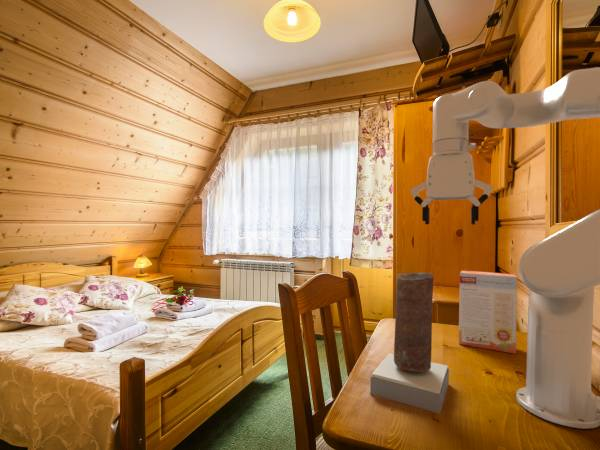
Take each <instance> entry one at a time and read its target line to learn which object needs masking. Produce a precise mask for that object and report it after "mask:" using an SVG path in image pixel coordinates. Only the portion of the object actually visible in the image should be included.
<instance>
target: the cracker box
mask: <svg viewBox="0 0 600 450" xmlns="http://www.w3.org/2000/svg"><path fill="white" fill-rule="evenodd" d="M517 284H518V277H517V275H516V274H514V273H501V272H489V271H476V270H475V271H473V270H461V271H460V272H459V292H458V293H459V299H458V300H459V304H458V306H459V307H458V308H459V309H458V344H459V345H463V346H469V347H474V348H480V349H487V350H491V351H498V352H502V353H508V354H513V355H514V354H516V353H517V312H518V311H517V302H518V301H517V300H518V298H517V297H518V295H517V294H518V289H517V288H518V285H517Z"/></svg>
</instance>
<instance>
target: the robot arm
mask: <svg viewBox="0 0 600 450" xmlns="http://www.w3.org/2000/svg"><path fill="white" fill-rule="evenodd" d="M597 118H599V119H600V67H598V66H596V67H590V68H583V69H582V68H581V69H575V70H573V71H570V72H568V73H566V74H565V75H564V76H563V77H562V78H561V79H559V80H557V82H555V83H554V84H551V85H550V86H548V87H546V88H543V89H540V90H534V91H527V92H521V93H512V94H511V93H507V92H506V91H505V90H504V88H502V87H501V86H500V84H498V83H497V82H494V81H491V80H483V81H480V82H479V81H478V82H477V83H474V84H472V85H470V86H467V87H465V88H464V89H461V90H459V91H457V92H453V93H446V94H443V95H440V96H438V97H437V98H436V99H435V100H434V102H433V104H432V155H431V156H430V157H429V159H428V163H427V164H428V165H427V170H426V171H427V172H426V181H424V182H422V183H421V184H418V185H416V186H414V187H413V188H411V189H410V194H411V196H412V197H413V199H414V201H416V203H418V204H419V206H420V207H422V209H421V211H422V213H421V214H422V215H421V218H422V219H421V220H422V221H423V222H424V225H430V215H431V214H430V212H431V211H430V207H429V205H430V204H431V203H432V202H433V201H451V200H452V201H454V200H457V201H458V200H468V201H469V202H470V204H471V207H470V224H471V225H472V226H474V225H476V222H479V215H480V213H479V208H480V206H481V205H482V204H483V203H484V202H485V201H487V200H488V198H489V196H490V195H491V193H492V192H493V189H494V187H493V186H492V185H491V184H489V183H487V182H486V183H485V182H483V181H480V180H479V179H476V178H475V169H474V160H473V155H472V154H471V153H469V152H470V151H472V150H476V142H474V143H473V142H470V141H469V121H473V122H474V121H475V122H477V123H479V124H480V125H482V126H484V127H486V128H489V129H515V128H516V129H517V128H529V127H536V126H537V127H538V126H543V125H547V124H555V123H558V122H562V121H567V120H582V119H584V120H585V119H597ZM476 187H477V188H479V189H481V190H484V191H483V193H482V195H481V196H480V197H479V198H477V197H475V189H476ZM423 190H425V195H426V197H425V198H424V199H422V198H421V197H420V195H419V192H421V191H423ZM518 274H519V279H520V280H521V282H522V283H523V284H524V285H525V287H526V288H528V290H529V293H528V305H527V332H526V333H527V334H526V335H527V336H526V339H527V340H526V372H525V373H526V376H525V378H526V379H525V381H526V382H525V384H526V385H525V386H523V387H521V388H519V389H518V390H516V394H515V395H516V401H517V403H518V404H519V405H520V406H522V408H523V409H525V410H527V411H528V412H529V413H531V414H533V415H534V416H536V417H538V418H541V419H544V420H545V421H548V422H551V423H554V424H557V425H561V426H564V427H569V428H575V429H584V430H585V429H594V428H595V429H596V428H598V427H600V396H597V395H596V394H595V393H594V392H593V391H592V363H593V361H592V359H593V358H592V357H593V356H592V355H593V354H592V353H593V332H594V330H593V327H594V325H593V323H594V303H595V302H594V299H595V287H597V286H598V285H600V208H599V209H598V210H595V211H593V212H591V213H590V214H587V215H586V216H584V217H582V218H581V219H579V220H577V221H575V222H573V223H572V224H570V225H568V226H566V227H565V228H562V229H560V230H559V231H557V232H554V233H553V234H551V235H550V236H548V237H545V238H544V239H542V240H540V241H538V242H537V243H534V244H533V245H531V246H530V247H528V249H526V250H525V251H524V252H523V253H522V255H521V257H520V259H519V262H518Z"/></svg>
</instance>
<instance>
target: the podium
mask: <svg viewBox="0 0 600 450" xmlns="http://www.w3.org/2000/svg"><path fill="white" fill-rule="evenodd" d="M449 376H450V368H449V365H447V364H446V365H445V364H442V363H438V362H432V361H431V369H430V370H428V371H423V372H414V371H405V370H401V369H400V368H398V367H397V366H396V364H395V363H394V353H390V352H389V353H388V354H387V355H386V356H385V357H384V358H383V360H382V361H381V362H380V363H379V365H377V367H376V368H375V369H374V370H373V372H372V373H371V375H370V387H369V388H370V390H369V391H370V395H374V396H376V397H377V396H378V397H379V398H380V397H381V398H384V399H387V400H391V401H394V402H399V403H402V404H404V405H408V406H412V407H416V408H417V409H418V408H419V409H422V410H426V411H428V412H433V413H436V414H439V415H440V414H441V412H442V408H443V405H444V403H445V402H444V401H445V398H446V394H447V391H448V387H449V385H450V384H449V381H450V377H449Z"/></svg>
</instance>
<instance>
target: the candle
mask: <svg viewBox="0 0 600 450" xmlns="http://www.w3.org/2000/svg"><path fill="white" fill-rule="evenodd" d="M396 275H397V276H396V290H395V291H396V293H395V295H396V296H395V297H396V298H395V318H394V319H395V321H394V325H395V326H394V328H395V329H394V341H393V342H394V344H393V345H394V346H393V354H394V363H395V364H396V366H397V367H398V368H400V369H401V370H405V371H414V372H423V371H428V370H430V369H431V362H432V340H433V338H432V337H433V336H432V335H433V334H432V333H433V332H432V331H433V299H434V298H433V297H434V295H433V294H434V293H433V292H434V275H433V274H432V273H428V272H409V273H398V274H396Z"/></svg>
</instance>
